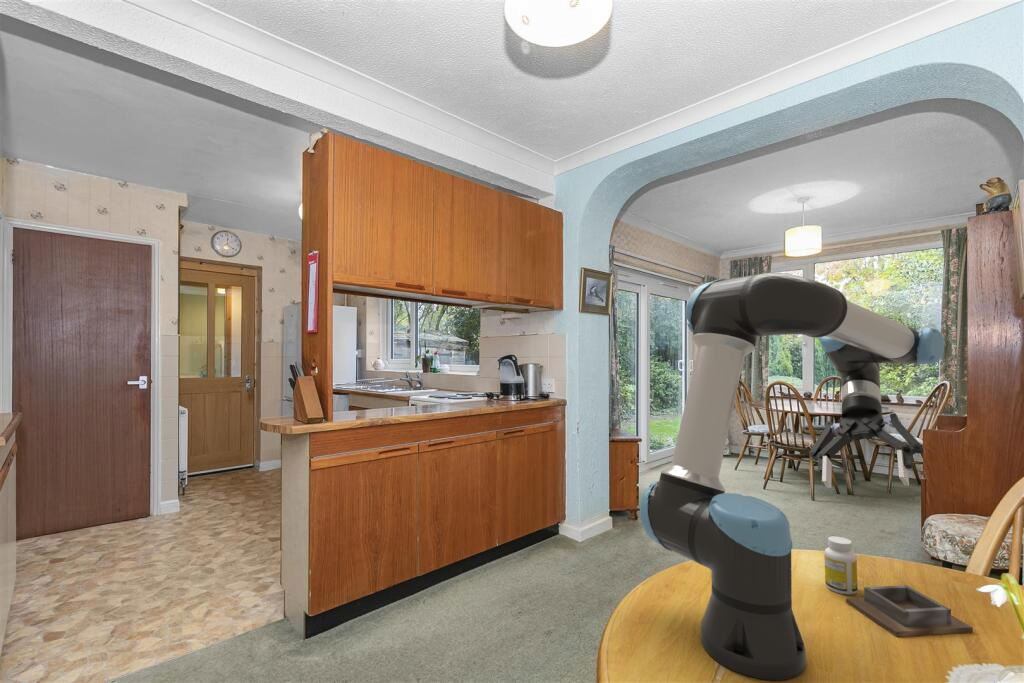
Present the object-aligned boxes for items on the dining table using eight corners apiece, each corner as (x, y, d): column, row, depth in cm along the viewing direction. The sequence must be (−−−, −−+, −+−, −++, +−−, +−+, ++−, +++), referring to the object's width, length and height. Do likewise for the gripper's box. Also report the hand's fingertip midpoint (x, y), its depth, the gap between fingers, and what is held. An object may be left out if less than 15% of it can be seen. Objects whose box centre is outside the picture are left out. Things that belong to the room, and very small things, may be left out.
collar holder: (896, 636, 82) (895, 616, 82) (846, 602, 93) (845, 584, 93) (972, 631, 83) (972, 612, 83) (914, 598, 94) (914, 581, 94)
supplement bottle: (847, 582, 100) (846, 535, 100) (863, 596, 95) (862, 545, 95) (819, 581, 101) (818, 534, 101) (834, 595, 96) (833, 544, 96)
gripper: (935, 406, 105) (948, 491, 92) (809, 422, 123) (806, 495, 110) (922, 383, 102) (934, 467, 89) (796, 403, 120) (790, 475, 107)
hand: (863, 483), depth 100 cm, fingers open, 13 cm apart
